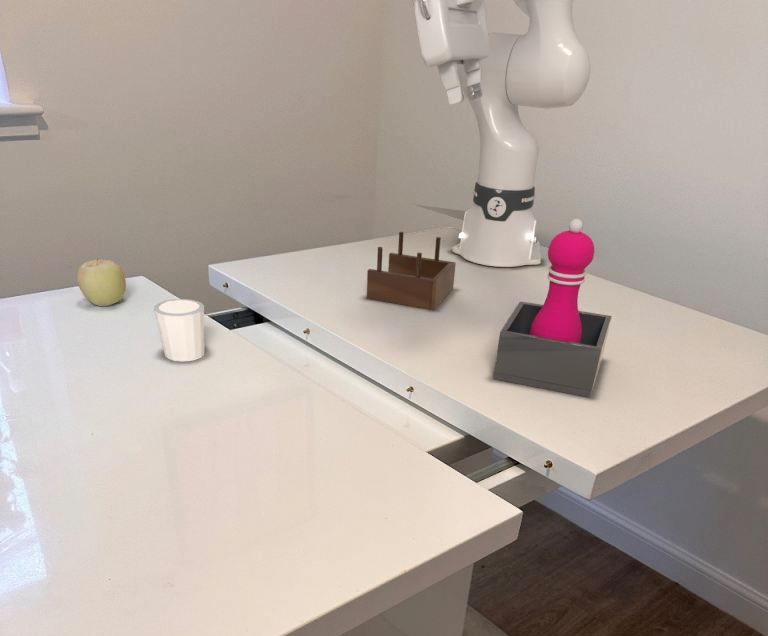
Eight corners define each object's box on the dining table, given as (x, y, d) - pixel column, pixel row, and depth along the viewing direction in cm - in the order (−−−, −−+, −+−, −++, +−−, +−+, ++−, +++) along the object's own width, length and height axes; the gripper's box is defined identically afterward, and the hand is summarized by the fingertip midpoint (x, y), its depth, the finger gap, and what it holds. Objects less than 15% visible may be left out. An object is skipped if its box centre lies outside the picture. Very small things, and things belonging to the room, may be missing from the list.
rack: (389, 279, 136) (391, 230, 130) (453, 289, 132) (458, 239, 127) (366, 298, 126) (368, 246, 121) (434, 310, 123) (438, 256, 118)
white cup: (192, 340, 108) (187, 294, 104) (218, 355, 104) (213, 307, 100) (151, 352, 104) (144, 304, 100) (176, 367, 100) (170, 319, 96)
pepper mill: (561, 378, 100) (591, 229, 89) (515, 363, 104) (539, 218, 92) (583, 362, 105) (614, 219, 93) (538, 349, 108) (563, 209, 97)
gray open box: (512, 345, 112) (519, 301, 108) (601, 360, 108) (611, 315, 104) (493, 379, 101) (500, 331, 97) (590, 397, 98) (601, 349, 94)
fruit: (138, 303, 120) (130, 254, 115) (98, 314, 115) (89, 263, 110) (111, 292, 123) (103, 244, 119) (72, 302, 119) (62, 252, 114)
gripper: (442, -37, 82) (468, 98, 88) (487, -23, 98) (506, 90, 104) (393, -16, 85) (421, 113, 91) (444, -6, 101) (465, 103, 107)
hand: (467, 101), depth 98 cm, fingers open, 8 cm apart
